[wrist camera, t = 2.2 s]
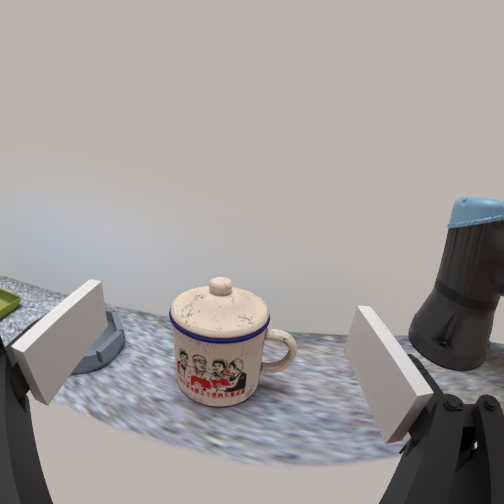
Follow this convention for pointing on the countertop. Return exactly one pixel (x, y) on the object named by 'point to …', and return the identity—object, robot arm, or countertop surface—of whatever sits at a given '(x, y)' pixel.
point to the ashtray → (103, 345)
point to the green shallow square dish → (8, 302)
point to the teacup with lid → (223, 343)
